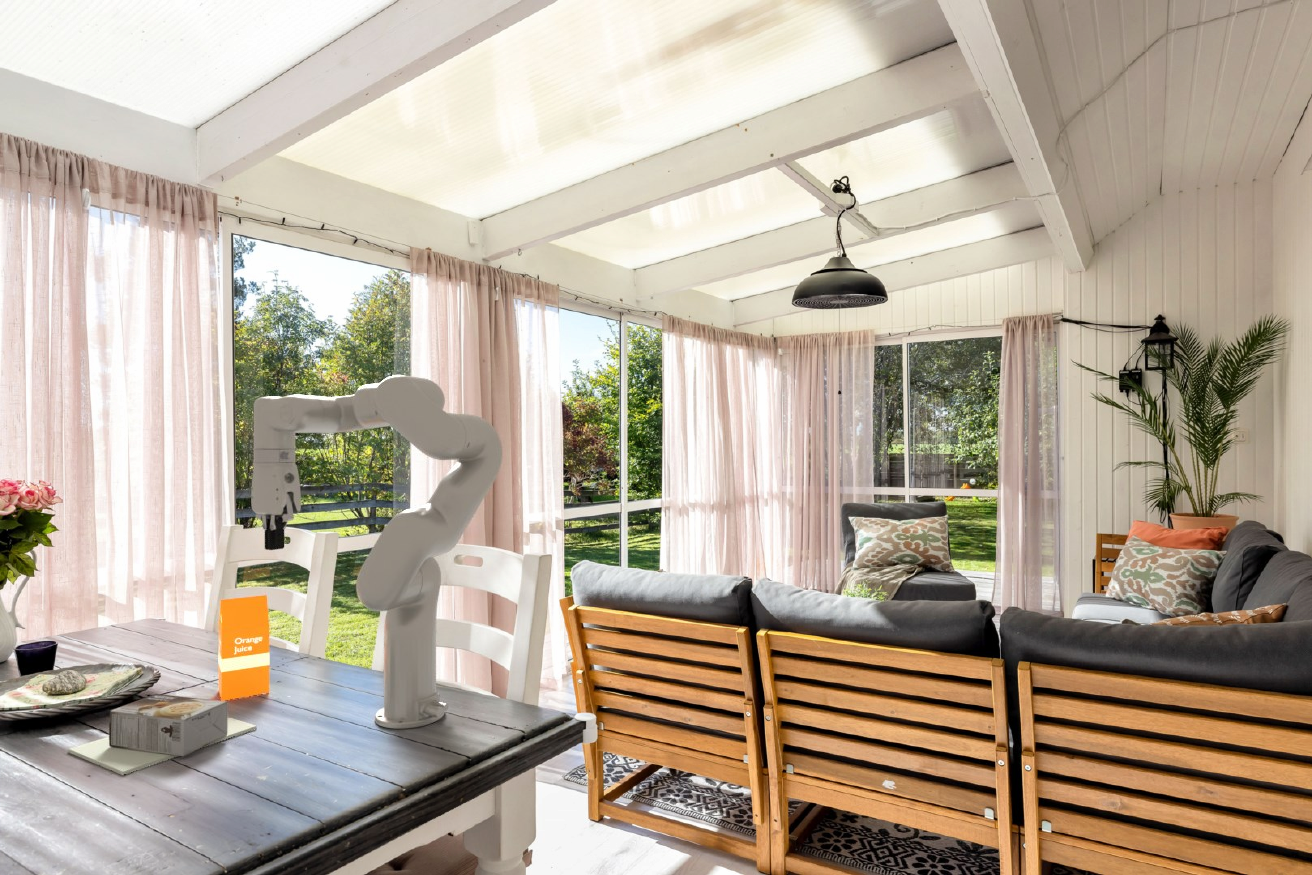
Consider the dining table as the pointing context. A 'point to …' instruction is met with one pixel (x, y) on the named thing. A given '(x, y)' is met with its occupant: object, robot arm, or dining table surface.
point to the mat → (135, 759)
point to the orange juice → (243, 647)
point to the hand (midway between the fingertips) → (274, 548)
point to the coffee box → (168, 724)
